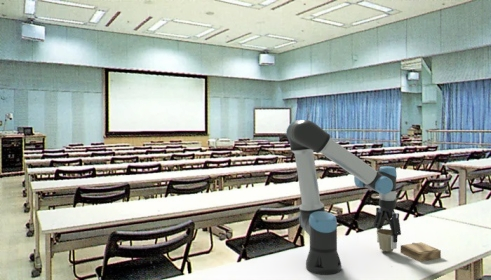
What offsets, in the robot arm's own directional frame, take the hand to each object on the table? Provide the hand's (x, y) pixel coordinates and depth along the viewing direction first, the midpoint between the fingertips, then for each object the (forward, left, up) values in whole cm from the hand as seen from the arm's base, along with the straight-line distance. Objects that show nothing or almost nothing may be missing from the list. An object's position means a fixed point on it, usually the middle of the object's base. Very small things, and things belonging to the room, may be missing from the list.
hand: (386, 245), depth 182 cm
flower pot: (0, 0, -2) cm, 2 cm away
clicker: (+16, +1, -4) cm, 17 cm away
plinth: (+11, -9, -3) cm, 15 cm away
